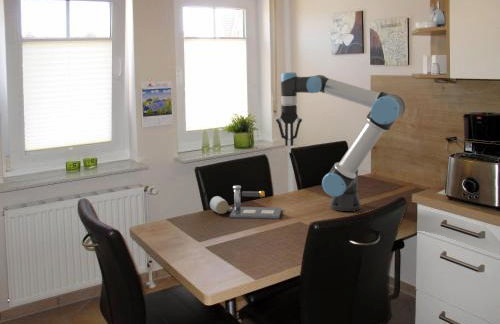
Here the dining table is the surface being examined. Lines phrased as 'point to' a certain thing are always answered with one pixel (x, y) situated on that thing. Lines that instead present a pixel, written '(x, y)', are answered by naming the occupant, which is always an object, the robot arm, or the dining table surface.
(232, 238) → the dining table surface
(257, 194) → the swing arm
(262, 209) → the grey base with post
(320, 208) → the dining table surface
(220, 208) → the ceramic mug
